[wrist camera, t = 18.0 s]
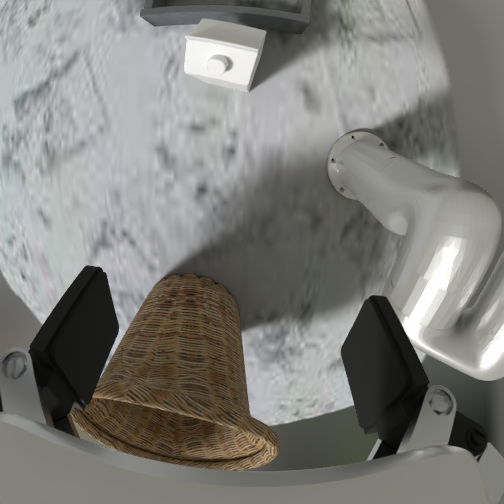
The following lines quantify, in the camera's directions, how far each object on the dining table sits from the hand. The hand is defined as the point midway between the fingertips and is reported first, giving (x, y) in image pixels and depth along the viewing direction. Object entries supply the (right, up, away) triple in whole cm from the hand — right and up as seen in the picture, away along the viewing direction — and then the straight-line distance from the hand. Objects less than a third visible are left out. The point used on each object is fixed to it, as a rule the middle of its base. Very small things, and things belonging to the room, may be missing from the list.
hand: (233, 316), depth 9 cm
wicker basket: (-13, -11, +51) cm, 54 cm away
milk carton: (-2, +31, +26) cm, 41 cm away
